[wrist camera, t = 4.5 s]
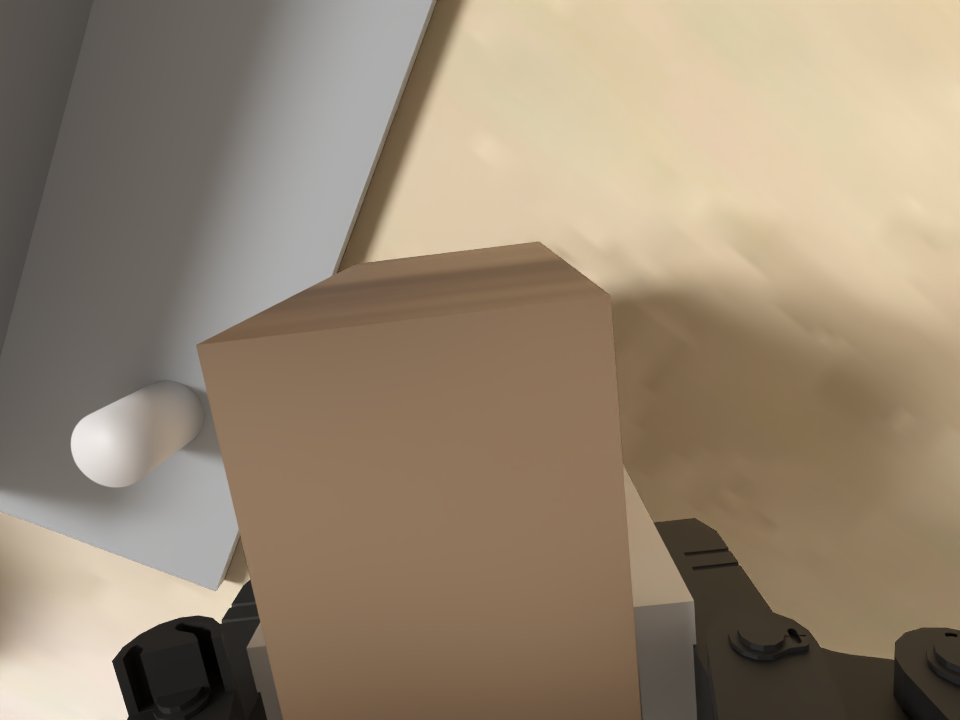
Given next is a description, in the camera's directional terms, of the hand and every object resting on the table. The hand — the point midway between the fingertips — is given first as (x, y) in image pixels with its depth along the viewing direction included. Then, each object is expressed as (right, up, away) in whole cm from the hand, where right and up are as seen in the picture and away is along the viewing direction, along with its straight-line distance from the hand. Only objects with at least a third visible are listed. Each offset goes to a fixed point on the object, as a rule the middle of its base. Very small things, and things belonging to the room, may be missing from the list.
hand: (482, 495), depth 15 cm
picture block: (0, 0, +1) cm, 1 cm away
